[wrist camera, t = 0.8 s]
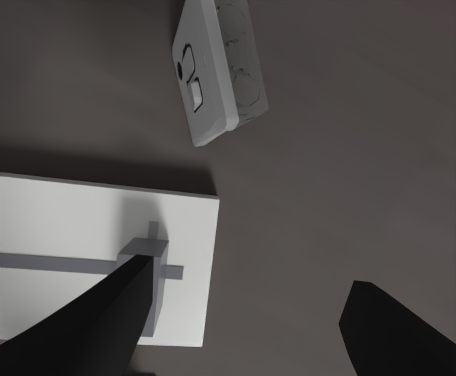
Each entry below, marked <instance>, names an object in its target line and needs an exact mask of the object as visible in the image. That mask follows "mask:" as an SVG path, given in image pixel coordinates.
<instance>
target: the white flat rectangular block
mask: <svg viewBox="0 0 456 376" xmlns="http://www.w3.org/2000/svg"><path fill="white" fill-rule="evenodd" d="M218 208H219V198H218V196H213V195H204V194H195V193H186V192H177V191H168V190H159V189H149V188H140V187H131V186H122V185H113V184H104V183H94V182H85V181H76V180H67V179H58V178H49V177H40V176H30V175H21V174H12V173H3V172H0V339H9V340H10V339H11V338H13V337H15V336H17V335H18V334H20V333H22V332H24V331H25V330H27V329H29V328H30V327H32V326H34V325H35V324H37V323H39V322H40V321H42V320H43V319H45V318H47V317H48V316H50V315H51V314H53V313H54V312H56V311H57V310H59V309H60V308H62V307H63V306H65V305H66V304H68V303H69V302H71V301H72V300H74V299H75V298H77V297H78V296H80V295H81V294H83V293H84V292H86V291H87V290H88V289H90V288H91V287H93V286H94V285H95V284H97V283H98V282H100V281H101V280H102V279H104V278H105V277H106V276H108V275H109V274H110V273H112V272H113V271H115V270H116V263H117V254H118V253H119V252H120V251H121V250H122V249H123V248H124V247H125V246H126V245H127V244H128V243H129V242H130V241H131V240H132V239H133V238H134V237H135V238H147V239H159V240H169V247H168V257H167V266H166V276H165V285H164V295H163V304H162V308H161V312H160V315H159V318H158V322H157V325H156V328H155V332H154V335H153V337H140V339H139V341H138V343H137V344H141V345H167V346H193V347H202V342H203V334H204V325H205V317H206V309H207V300H208V292H209V284H210V275H211V267H212V259H213V250H214V242H215V233H216V225H217V217H218Z"/></svg>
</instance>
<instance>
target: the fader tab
mask: <svg viewBox="0 0 456 376" xmlns="http://www.w3.org/2000/svg"><path fill="white" fill-rule="evenodd" d="M168 247H169V240H159V239H147V238H135V237H134V238H133V239H132V240H131V241H130V242H129V243H128V244H127V245H126V246H125V247H124V248H123V249H122V250H121V251H120V252H119V253H118V254H117V263H116V269H117V268H119V267H120V266H121V265H123V264H124V263H125V262H127V261H128V260H129V259H131V258H132V257H133V256H135V255H136V254H140V255H148V256H154V269H153V302H152V305H151V308H150V311H149V314H148V318H147V320H146V323H145V326H144V329H143V332H142V334H141V336H140V337H153V335H154V332H155V328H156V325H157V322H158V318H159V315H160V312H161V308H162V304H163V295H164V285H165V276H166V266H167V257H168Z"/></svg>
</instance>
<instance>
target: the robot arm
mask: <svg viewBox="0 0 456 376" xmlns="http://www.w3.org/2000/svg"><path fill="white" fill-rule="evenodd" d="M153 269H154V256H148V255H140V254H136V255H135V256H133V257H132V258H131V259H129V260H128V261H127V262H125V263H124V264H123V265H121V266H120V267H119V268H117V269H116V270H115V271H113V272H112V273H110V274H109V275H108V276H106V277H105V278H104V279H102V280H101V281H100V282H98V283H97V284H95V285H94V286H93V287H91V288H90V289H88V290H87V291H86V292H84V293H83V294H81V295H80V296H78V297H77V298H75V299H74V300H72V301H71V302H69V303H68V304H66V305H65V306H63V307H62V308H60V309H59V310H57V311H56V312H54V313H53V314H51V315H50V316H48V317H47V318H45V319H43V320H42V321H40V322H39V323H37V324H35V325H34V326H32V327H30V328H29V329H27V330H25V331H24V332H22V333H20V334H18V335H17V336H15V337H13V338H11V339H10V340H8V341H6V342H4V343H3V344H1V345H0V376H123V374H124V371H125V369H126V367H127V365H128V363H129V361H130V358H131V356H132V354H133V352H134V350H135V347H136V345H137V343H138V341H139V339H140V336H141V334H142V332H143V329H144V326H145V323H146V320H147V318H148V314H149V311H150V308H151V305H152V302H153ZM339 327H340V330H341V334H342V337H343V340H344V343H345V346H346V349H347V352H348V355H349V357H350V360H351V362H352V364H353V367H354V369H355V371H356V373H357V376H456V344H455V343H453V342H452V341H451V340H449V339H448V338H447V337H445V336H444V335H443V334H441V333H440V332H438V331H437V330H436V329H434V328H433V327H432V326H430V325H429V324H428V323H426V322H425V321H424V320H422V319H421V318H420V317H418V316H417V315H416V314H414V313H413V312H412V311H410V310H409V309H408V308H406V307H405V306H404V305H402V304H401V303H400V302H398V301H397V300H396V299H394V298H393V297H391V296H390V295H389V294H387V293H386V292H385V291H383V290H382V289H380V288H379V287H377V286H376V285H374V284H373V283H371V282H364V281H355V280H354V282H353V285H352V288H351V290H350V293H349V296H348V299H347V302H346V304H345V307H344V310H343V313H342V315H341V318H340V321H339Z"/></svg>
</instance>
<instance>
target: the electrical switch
mask: <svg viewBox="0 0 456 376" xmlns="http://www.w3.org/2000/svg"><path fill="white" fill-rule="evenodd" d="M242 13H243V14H244V15H243V14H242ZM244 31H245V32H244ZM231 40H238V41H237V42H236V43H235V44H234V43H232V41H231ZM172 57H173V62H174V66H175V70H176V74H177V79H178V83H179V87H180V91H181V95H182V100H183V104H184V108H185V112H186V116H187V121H188V125H189V129H190V133H191V138H192V141H193V144H194V146H195V147H196V146H203V145H206V144H207V143H208V142H210V141H211V140H213V139H214V138H216V137H217V136H219V135H220V134H222V133H225V132H229V131H231V130H234V129H235V128H237V127H239V126H241V125H242V124H244V123H246V122H248V121H250V120H252V119H253V118H255V117H257V116H259V115H261V114H263V113H264V112H266V111H263V110H268V109H269V108H268V103H267V98H266V93H265V88H264V83H263V78H262V73H261V68H260V63H259V58H258V53H257V48H256V43H255V38H254V33H253V28H252V23H251V18H250V13H249V8H248V3H247V0H186V1H185V4H184V8H183V11H182V15H181V18H180V22H179V25H178V29H177V32H176V36H175V39H174V43H173V46H172ZM232 69H233V70H232ZM239 69H244V70H239ZM238 70H239V71H238ZM244 74H248V75H244ZM234 78H235V80H234ZM233 80H234V82H233ZM259 87H260V89H259ZM238 102H239V103H238ZM240 103H241V104H240ZM257 111H260V112H257Z"/></svg>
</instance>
